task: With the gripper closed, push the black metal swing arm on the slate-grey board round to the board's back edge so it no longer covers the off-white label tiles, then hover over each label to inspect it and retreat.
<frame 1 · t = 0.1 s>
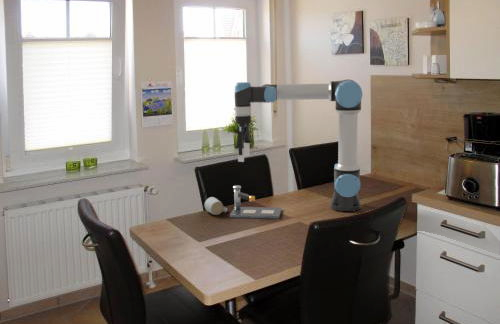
hand: (244, 158, 252), 28 cm above the table, fingers open, 13 cm apart
board: (256, 213, 257), on the table
ceramic mug: (216, 213, 260), on the table
swing arm: (246, 197, 254), point 9 cm above the table, hinge at 0.0°
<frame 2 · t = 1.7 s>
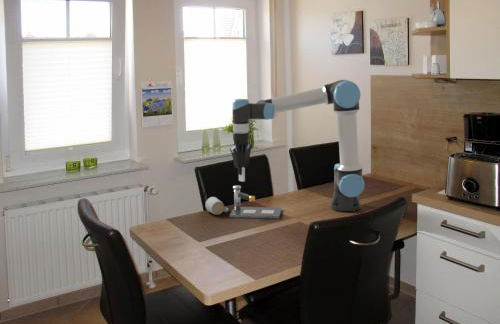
hand: (241, 180, 248), 18 cm above the table, fingers closed
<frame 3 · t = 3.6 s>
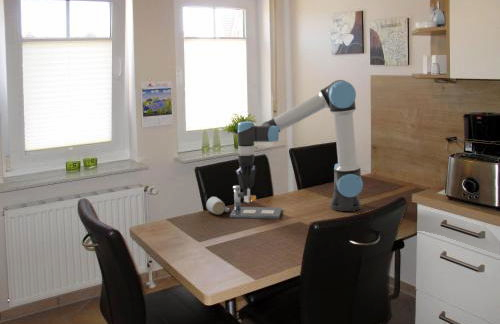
hand: (247, 201, 252), 7 cm above the table, fingers closed
swing arm: (247, 196, 255), point 9 cm above the table, hinge at 3.3°, touching gripper
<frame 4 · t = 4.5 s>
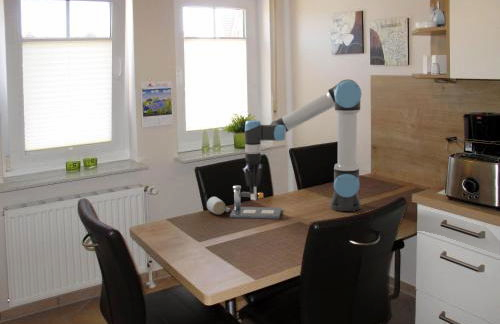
hand: (253, 199, 256), 7 cm above the table, fingers closed
swing arm: (252, 194, 258), point 9 cm above the table, hinge at 32.1°, touching gripper
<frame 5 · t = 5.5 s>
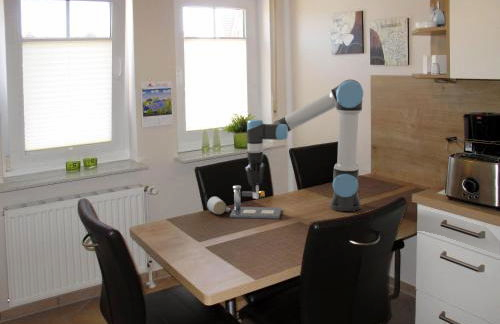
hand: (255, 198, 257), 8 cm above the table, fingers closed
swing arm: (253, 193, 259), point 9 cm above the table, hinge at 45.1°, touching gripper
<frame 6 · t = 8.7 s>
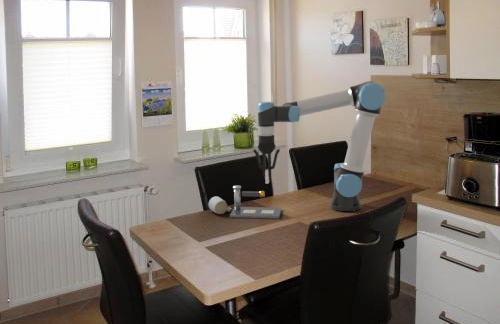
hand: (267, 182, 251), 16 cm above the table, fingers closed
swing arm: (253, 193, 259), point 9 cm above the table, hinge at 45.1°
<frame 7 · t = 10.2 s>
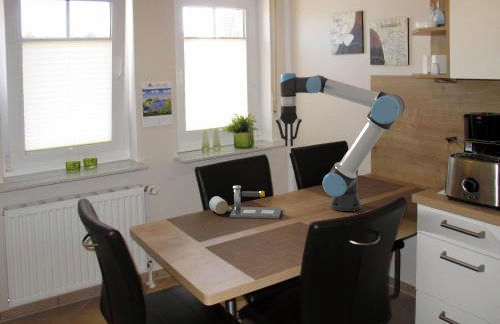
hand: (289, 152, 257), 29 cm above the table, fingers closed
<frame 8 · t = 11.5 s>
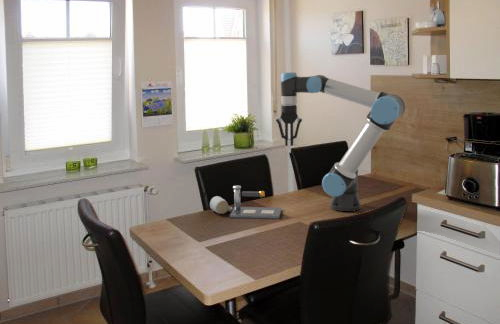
hand: (289, 152, 257), 29 cm above the table, fingers closed
at the end: swing arm at +45° (first picture: +0°); ceramic mug moved 3.1 cm from its start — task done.
